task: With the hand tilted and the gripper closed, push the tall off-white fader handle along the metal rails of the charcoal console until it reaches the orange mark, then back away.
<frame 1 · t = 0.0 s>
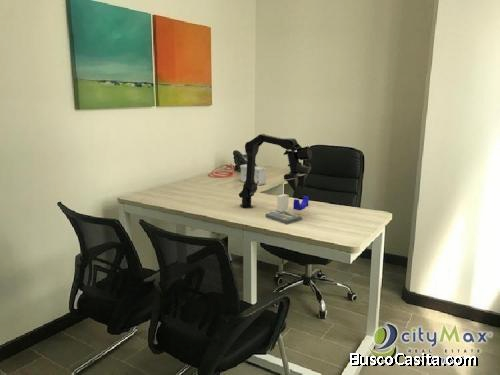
hand: (299, 189, 220), 15 cm above the table, tool pointing down, fingers open, 9 cm apart
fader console: (283, 218, 220), on the table
cable clip: (301, 208, 242), on the table
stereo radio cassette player: (252, 183, 308), on the table
fader handle: (282, 204, 219), point 8 cm above the table, slide at 0.0 cm
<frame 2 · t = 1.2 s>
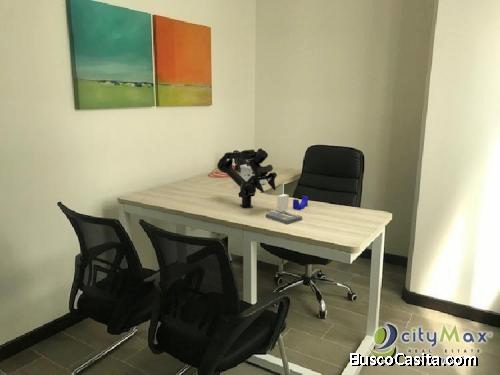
hand: (269, 190, 226), 13 cm above the table, tool tilted 45°, fingers open, 9 cm apart
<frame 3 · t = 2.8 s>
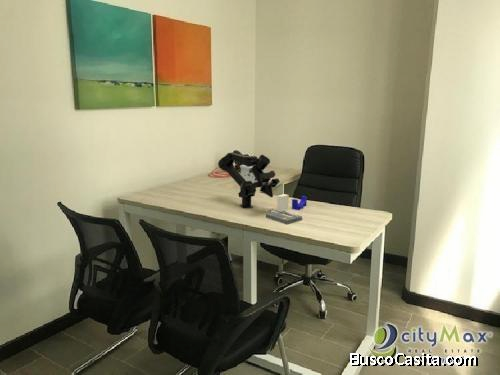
hand: (272, 197, 224), 10 cm above the table, tool tilted 45°, fingers closed
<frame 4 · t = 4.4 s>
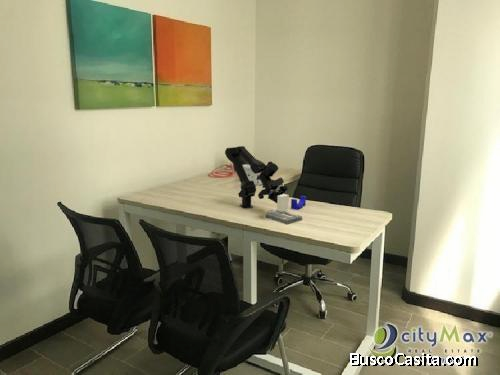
hand: (280, 204, 220), 7 cm above the table, tool tilted 45°, fingers closed, pressing on fader handle
fader handle: (282, 204, 219), point 8 cm above the table, slide at 0.1 cm, touching gripper
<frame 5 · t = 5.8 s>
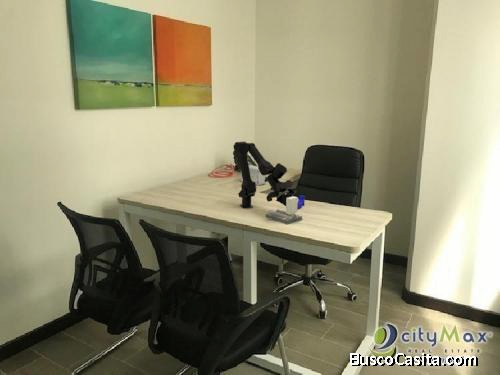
hand: (289, 207, 215), 7 cm above the table, tool tilted 45°, fingers closed, pressing on fader handle
fader handle: (291, 207, 214), point 8 cm above the table, slide at 6.6 cm, touching gripper
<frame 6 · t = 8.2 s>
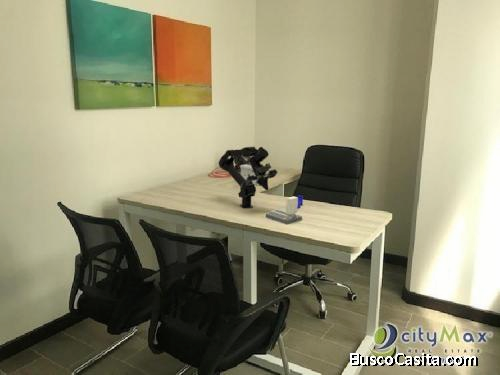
hand: (267, 190, 226), 14 cm above the table, tool tilted 40°, fingers closed
fader handle: (291, 207, 214), point 8 cm above the table, slide at 6.7 cm
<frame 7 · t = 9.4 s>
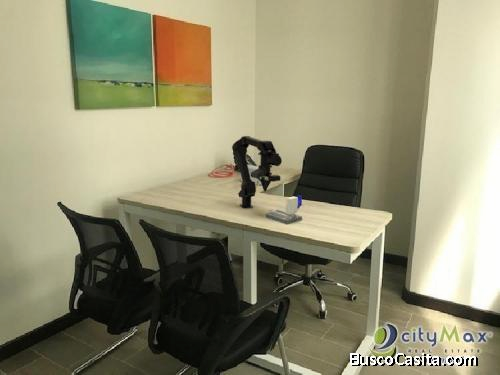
hand: (264, 191, 226), 13 cm above the table, tool pointing down, fingers closed
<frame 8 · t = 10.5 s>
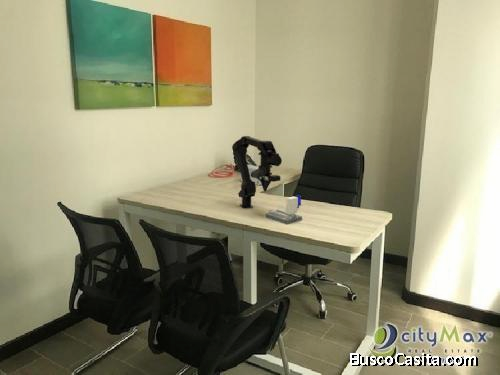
hand: (264, 191, 226), 13 cm above the table, tool pointing down, fingers closed
at the end: fader handle slide at 6.7 cm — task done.
